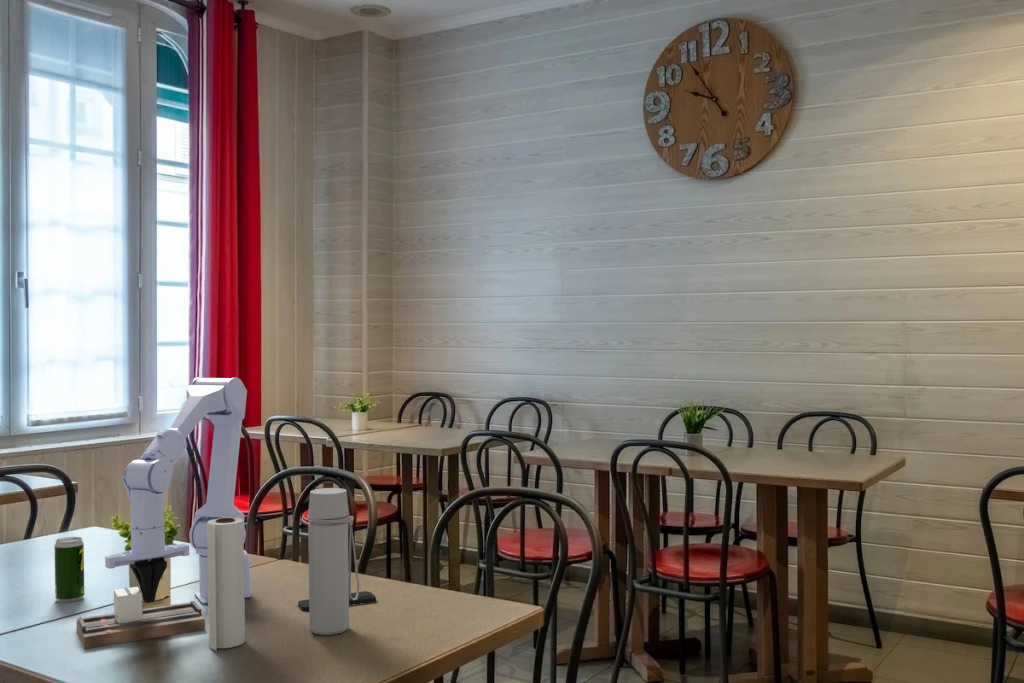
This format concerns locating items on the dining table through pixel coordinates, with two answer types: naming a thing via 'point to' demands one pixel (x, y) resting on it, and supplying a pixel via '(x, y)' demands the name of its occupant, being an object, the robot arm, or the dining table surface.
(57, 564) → the beer can
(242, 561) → the paper towel roll
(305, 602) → the remote control
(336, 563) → the water bottle
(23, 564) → the dining table surface
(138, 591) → the fader knob
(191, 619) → the console
